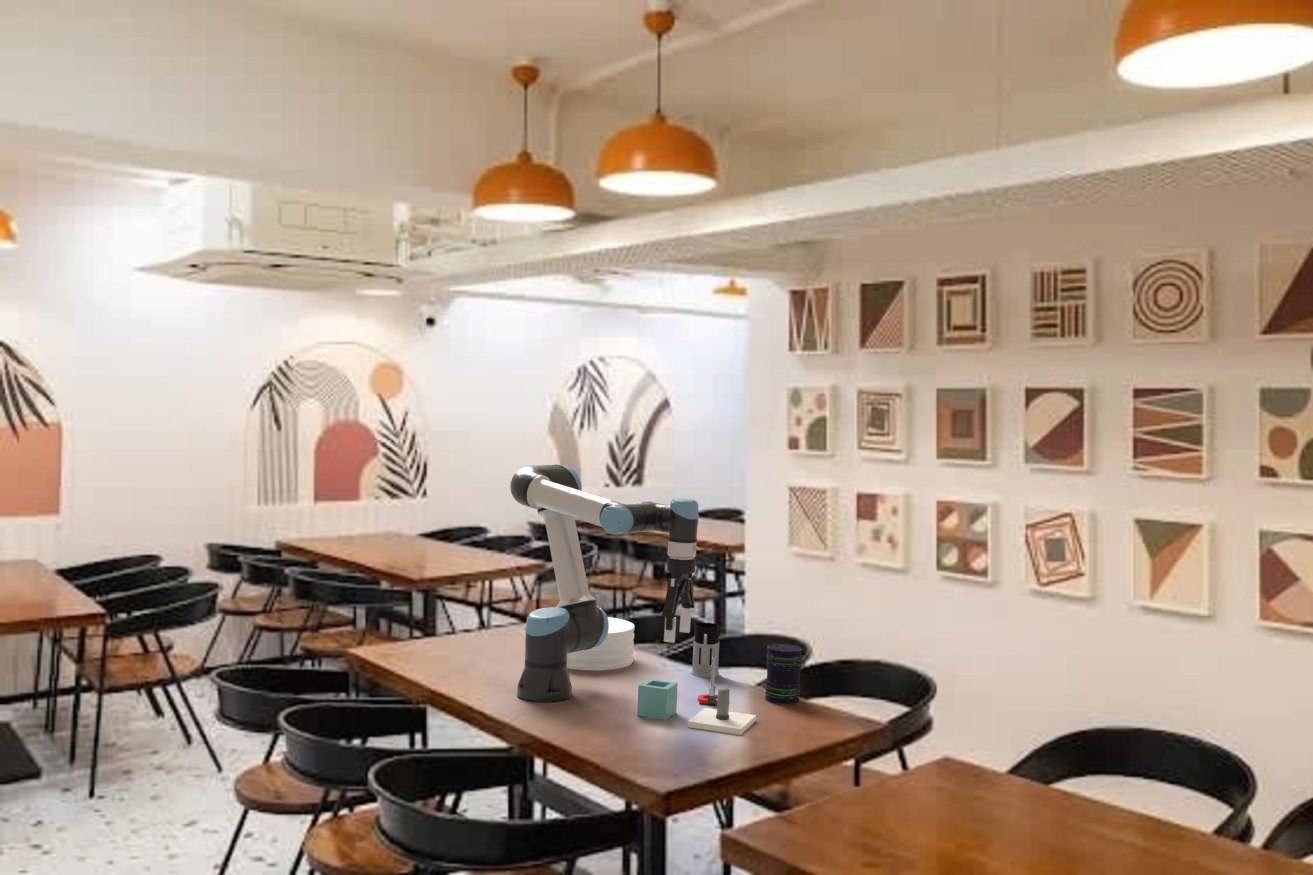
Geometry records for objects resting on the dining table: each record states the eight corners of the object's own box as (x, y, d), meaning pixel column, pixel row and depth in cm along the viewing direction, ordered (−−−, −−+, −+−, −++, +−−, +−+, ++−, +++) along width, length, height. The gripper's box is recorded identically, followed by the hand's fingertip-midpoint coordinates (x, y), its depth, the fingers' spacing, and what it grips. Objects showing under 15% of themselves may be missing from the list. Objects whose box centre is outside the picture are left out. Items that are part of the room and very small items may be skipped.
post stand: (687, 726, 274) (689, 691, 273) (704, 713, 287) (706, 679, 286) (740, 735, 269) (742, 699, 268) (755, 720, 282) (757, 686, 282)
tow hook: (699, 697, 305) (695, 704, 296) (702, 651, 305) (698, 657, 296) (729, 699, 303) (726, 706, 294) (731, 653, 304) (728, 659, 295)
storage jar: (806, 700, 304) (809, 648, 304) (786, 706, 297) (788, 652, 296) (778, 693, 311) (780, 641, 310) (757, 699, 304) (759, 646, 303)
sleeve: (637, 715, 282) (638, 685, 282) (648, 708, 289) (649, 678, 289) (665, 719, 279) (667, 689, 279) (676, 712, 286) (677, 682, 286)
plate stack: (649, 659, 347) (651, 624, 347) (599, 675, 323) (600, 637, 323) (579, 646, 362) (581, 612, 362) (526, 660, 338) (527, 624, 338)
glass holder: (719, 671, 334) (722, 623, 334) (717, 682, 320) (720, 632, 320) (691, 669, 335) (693, 621, 335) (688, 680, 321) (690, 630, 321)
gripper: (681, 564, 272) (676, 648, 273) (708, 553, 296) (703, 629, 297) (653, 561, 275) (648, 644, 276) (682, 550, 298) (677, 626, 299)
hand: (677, 637), depth 286 cm, fingers open, 13 cm apart
